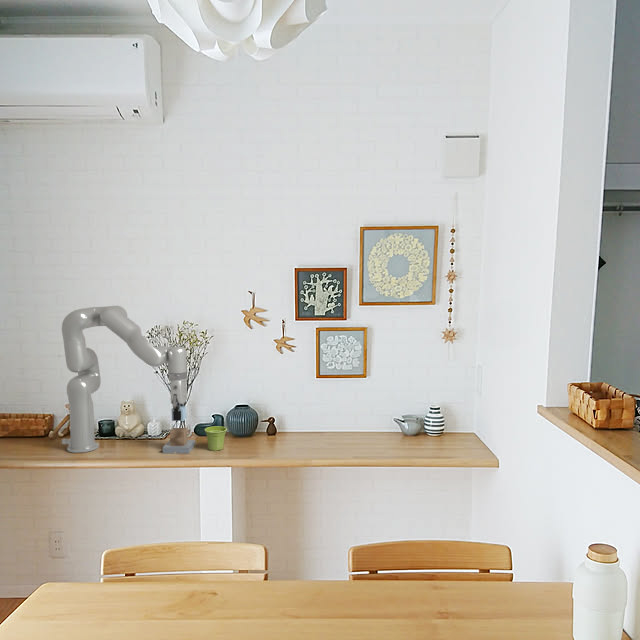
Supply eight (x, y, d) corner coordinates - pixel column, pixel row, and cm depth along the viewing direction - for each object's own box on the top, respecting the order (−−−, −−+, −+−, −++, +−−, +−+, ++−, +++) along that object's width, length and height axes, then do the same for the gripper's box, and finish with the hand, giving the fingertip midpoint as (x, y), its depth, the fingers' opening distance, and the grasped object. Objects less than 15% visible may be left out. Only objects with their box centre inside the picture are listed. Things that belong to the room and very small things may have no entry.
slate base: (162, 453, 249) (162, 447, 249) (170, 445, 260) (170, 439, 260) (189, 453, 249) (188, 447, 249) (195, 445, 260) (195, 440, 260)
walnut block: (170, 445, 251) (169, 431, 251) (173, 441, 257) (173, 427, 257) (184, 445, 251) (183, 431, 251) (187, 441, 257) (187, 427, 257)
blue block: (171, 420, 251) (171, 409, 250) (175, 417, 256) (174, 406, 255) (183, 420, 251) (183, 409, 250) (186, 417, 256) (186, 406, 255)
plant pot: (229, 446, 259) (229, 426, 258) (224, 452, 250) (223, 432, 249) (208, 445, 260) (208, 425, 259) (202, 452, 251) (201, 431, 250)
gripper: (181, 379, 243) (182, 423, 245) (191, 372, 260) (192, 413, 262) (163, 380, 243) (164, 423, 245) (174, 372, 260) (175, 413, 262)
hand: (179, 418), depth 253 cm, fingers closed on blue block, 5 cm apart
